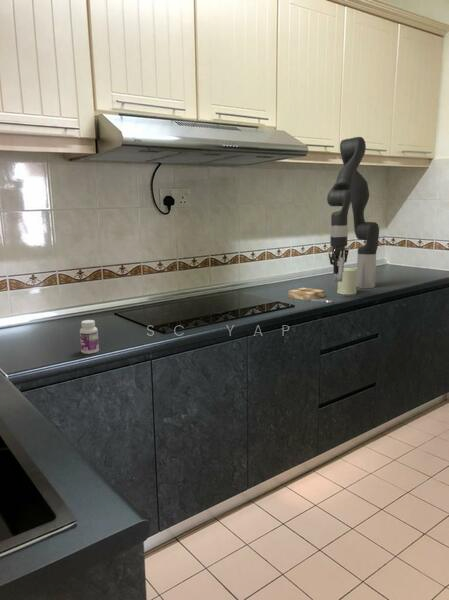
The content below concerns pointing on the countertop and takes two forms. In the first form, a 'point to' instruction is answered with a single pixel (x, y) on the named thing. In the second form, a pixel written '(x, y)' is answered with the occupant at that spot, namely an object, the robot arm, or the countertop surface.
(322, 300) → the bar
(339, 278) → the pin
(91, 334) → the pill bottle
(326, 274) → the countertop surface
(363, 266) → the robot arm
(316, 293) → the socket block
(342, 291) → the can
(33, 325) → the countertop surface
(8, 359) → the countertop surface
